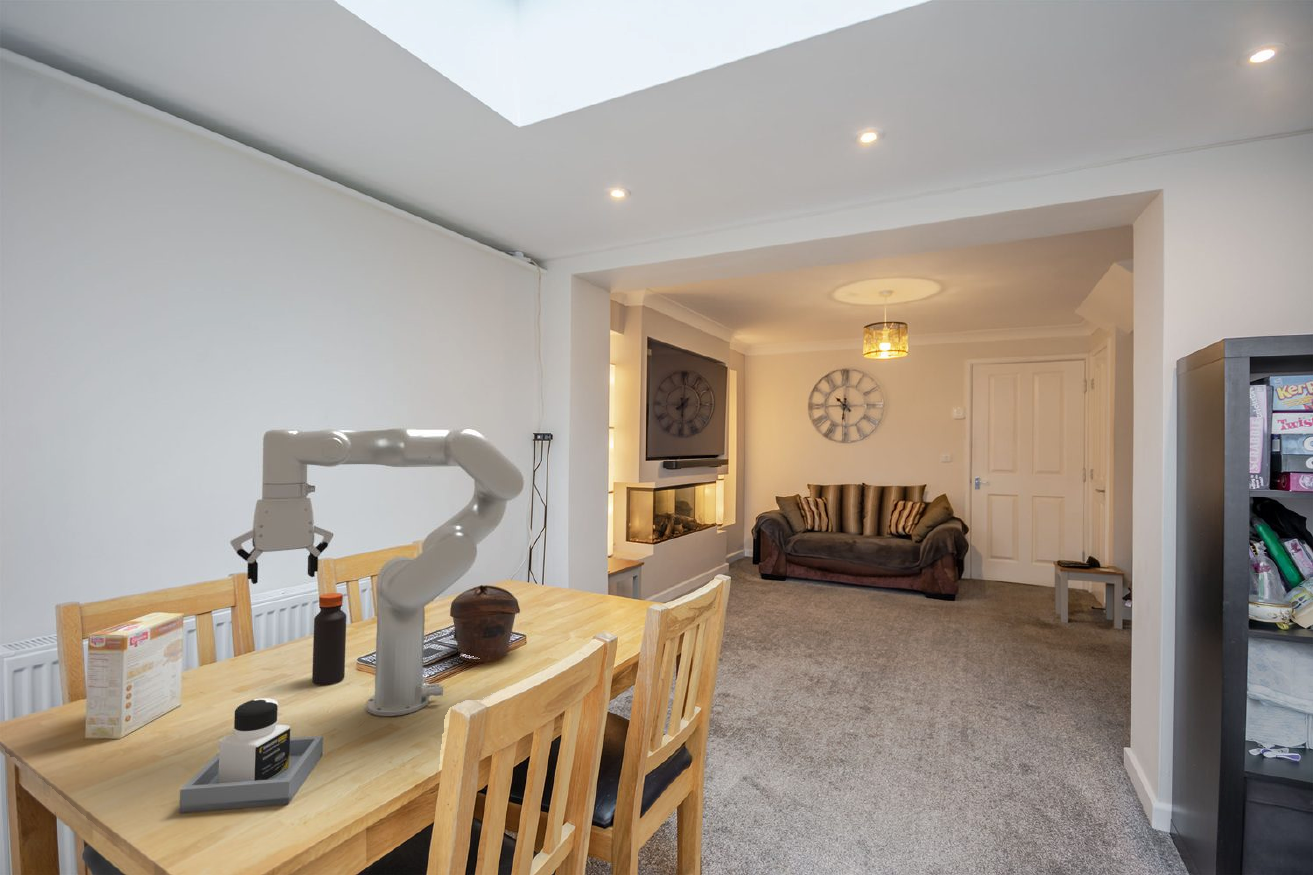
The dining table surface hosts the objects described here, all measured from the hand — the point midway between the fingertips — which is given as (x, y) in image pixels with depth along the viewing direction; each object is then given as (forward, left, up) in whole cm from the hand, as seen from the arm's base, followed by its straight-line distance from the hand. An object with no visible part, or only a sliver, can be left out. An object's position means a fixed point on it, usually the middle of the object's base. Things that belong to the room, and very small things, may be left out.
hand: (283, 579), depth 119 cm
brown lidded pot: (-35, -38, -29) cm, 60 cm away
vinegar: (-1, -24, -29) cm, 38 cm away
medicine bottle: (-4, +20, -28) cm, 35 cm away
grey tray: (-4, +20, -29) cm, 36 cm away
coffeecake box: (+29, -7, -29) cm, 42 cm away
